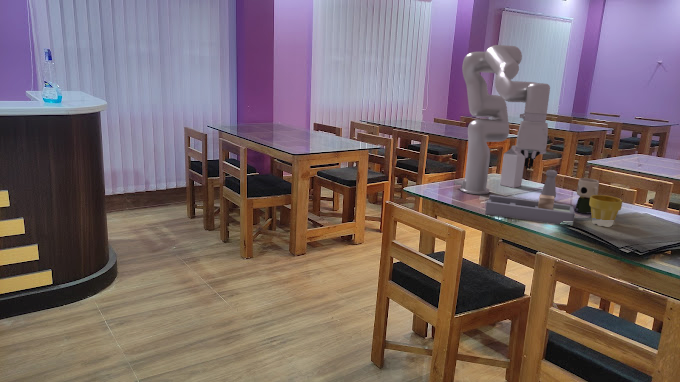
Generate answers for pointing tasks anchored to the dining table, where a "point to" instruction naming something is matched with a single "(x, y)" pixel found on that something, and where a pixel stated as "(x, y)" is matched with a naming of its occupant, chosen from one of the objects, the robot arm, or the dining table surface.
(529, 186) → the dining table surface
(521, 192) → the dining table surface
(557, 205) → the grey tray
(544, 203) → the maple block
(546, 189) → the salt shaker
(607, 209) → the plant pot
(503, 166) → the milk carton
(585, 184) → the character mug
